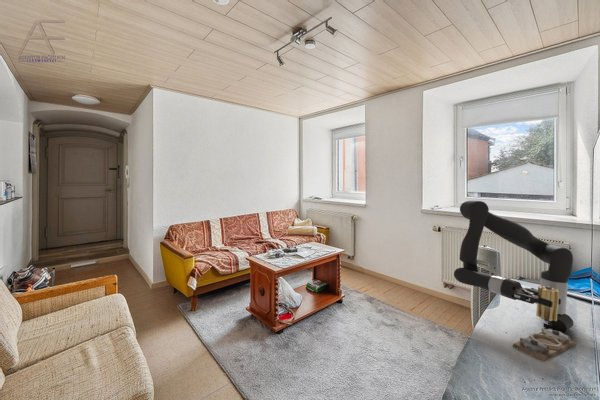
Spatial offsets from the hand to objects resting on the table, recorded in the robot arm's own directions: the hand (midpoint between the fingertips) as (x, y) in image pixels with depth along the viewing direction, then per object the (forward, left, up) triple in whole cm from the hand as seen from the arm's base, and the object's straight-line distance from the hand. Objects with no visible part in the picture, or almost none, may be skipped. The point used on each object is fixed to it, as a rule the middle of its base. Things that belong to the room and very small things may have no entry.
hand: (556, 303), depth 97 cm
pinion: (0, -2, -6) cm, 7 cm away
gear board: (0, -2, -17) cm, 17 cm away
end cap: (-19, -5, -18) cm, 27 cm away
